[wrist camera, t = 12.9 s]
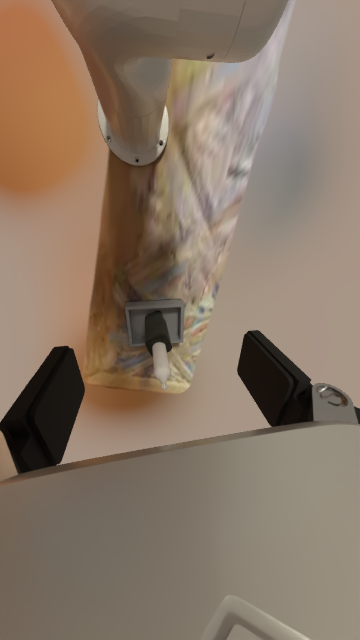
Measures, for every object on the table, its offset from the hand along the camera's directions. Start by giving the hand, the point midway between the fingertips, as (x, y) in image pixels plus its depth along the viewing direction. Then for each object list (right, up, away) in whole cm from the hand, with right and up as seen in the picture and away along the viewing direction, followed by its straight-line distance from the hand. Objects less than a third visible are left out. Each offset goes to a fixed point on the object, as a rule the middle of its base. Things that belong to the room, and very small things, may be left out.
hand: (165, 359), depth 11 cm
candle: (-6, +2, +43) cm, 43 cm away
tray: (-6, +2, +44) cm, 44 cm away
